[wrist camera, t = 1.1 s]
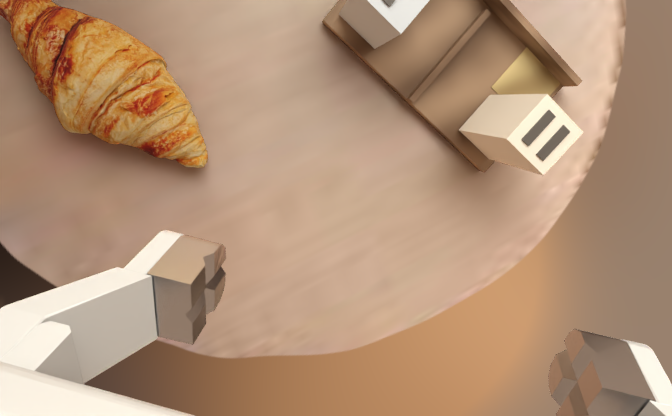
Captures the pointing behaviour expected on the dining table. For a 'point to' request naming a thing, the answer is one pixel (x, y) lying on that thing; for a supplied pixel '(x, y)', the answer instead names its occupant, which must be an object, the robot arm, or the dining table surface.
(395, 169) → the dining table surface
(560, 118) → the key two
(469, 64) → the rail board
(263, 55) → the dining table surface
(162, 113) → the croissant
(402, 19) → the key one
